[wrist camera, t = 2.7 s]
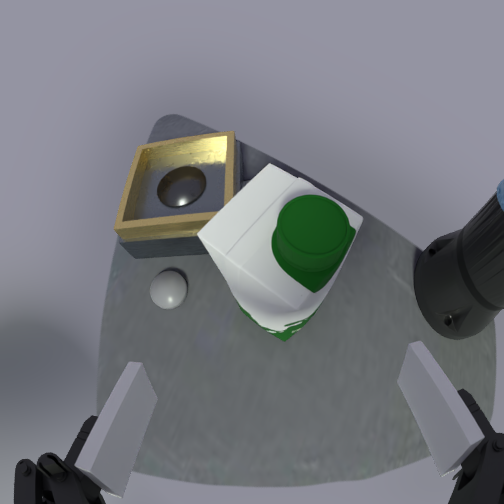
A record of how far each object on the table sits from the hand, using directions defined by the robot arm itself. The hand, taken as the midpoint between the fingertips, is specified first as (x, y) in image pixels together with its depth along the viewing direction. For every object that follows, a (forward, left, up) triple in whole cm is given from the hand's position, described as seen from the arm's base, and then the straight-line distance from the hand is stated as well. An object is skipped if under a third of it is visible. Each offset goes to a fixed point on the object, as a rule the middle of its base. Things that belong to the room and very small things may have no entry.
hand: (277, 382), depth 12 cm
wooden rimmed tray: (+10, -24, -19) cm, 32 cm away
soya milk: (-1, -9, -19) cm, 21 cm away
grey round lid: (+13, -11, -19) cm, 26 cm away
